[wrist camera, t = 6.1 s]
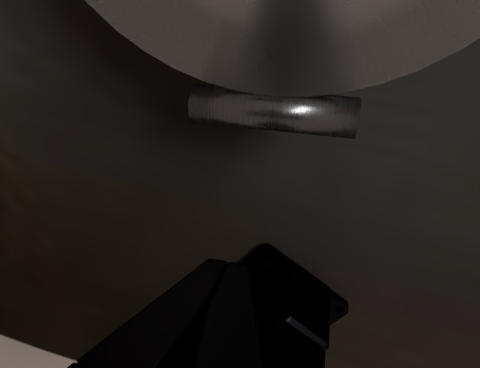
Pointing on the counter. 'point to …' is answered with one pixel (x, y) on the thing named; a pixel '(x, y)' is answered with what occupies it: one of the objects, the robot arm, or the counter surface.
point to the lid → (291, 53)
